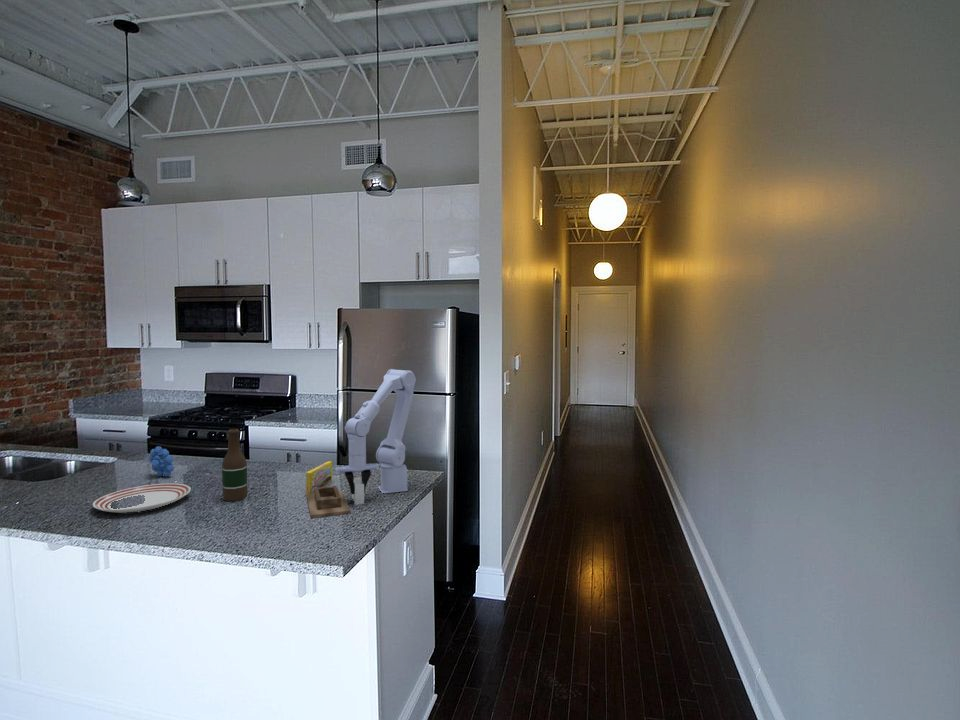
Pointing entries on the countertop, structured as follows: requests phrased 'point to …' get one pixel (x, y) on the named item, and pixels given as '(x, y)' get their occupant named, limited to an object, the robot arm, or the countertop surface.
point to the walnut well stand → (327, 502)
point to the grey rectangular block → (358, 491)
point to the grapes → (161, 461)
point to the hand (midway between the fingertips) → (357, 492)
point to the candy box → (318, 477)
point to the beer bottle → (234, 470)
